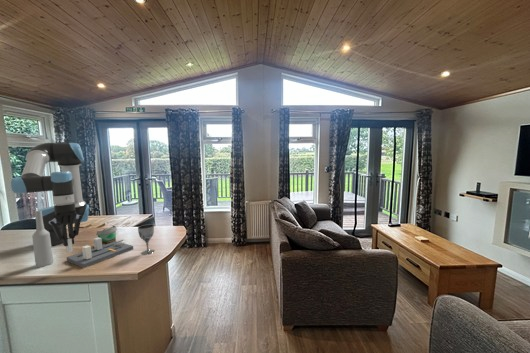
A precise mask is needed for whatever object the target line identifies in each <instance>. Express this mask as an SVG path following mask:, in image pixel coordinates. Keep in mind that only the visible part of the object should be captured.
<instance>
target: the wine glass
mask: <svg viewBox="0 0 530 353" xmlns="http://www.w3.org/2000/svg"><path fill="white" fill-rule="evenodd" d="M154 233H155V225H154V224H152V223H151V224H150V223H148V224H143V225H140V226H138V227H137V234H138V236H139V238H140V239H142V240H143V241H144V242H145V243H146V244H145V245H146V250H144V251H142V252H140V255H142V256H146V255H147V254H148V255H151V253H152V254H154V253H155V252H156V250H155V249H150V248H149V244H150V243H149V242H150V241H151V239H152V238H153V236H154ZM154 251H155V252H154ZM153 252H154V253H153Z"/></svg>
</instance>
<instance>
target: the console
mask: <svg viewBox="0 0 530 353" xmlns="http://www.w3.org/2000/svg"><path fill="white" fill-rule="evenodd" d="M102 247H103V249H100V250H96V249H94V248H91V252H92V258H89V259H84V258H83V252H82V251H81V252H79V253H75V254H73V255H70V256H66V262H68V263H71V264H73V265H76V266H78V267H80V268H83V269H85V268H88V267H90V266H94V265H95V264H99V263H101V262H104V261H107V260H109V259H111V258H115V257H117V256H120V255H123V254H126V253H128V252H130V251H132V250H134V246H133V245H130V244H127V243H125V240H124V239H122V240H121V239H120V240H118V241H115V242H112V243H109V244H106V245H103V246H102Z"/></svg>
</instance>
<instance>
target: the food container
mask: <svg viewBox="0 0 530 353" xmlns="http://www.w3.org/2000/svg"><path fill="white" fill-rule="evenodd" d="M117 230H118V228H117V227H116V225H112V226H111V227H108V228H105V229H103V230H97V231H96V235H97V238H98V237H99V238H102V246H103V245H106V244H109V243H112V242H115V241H116V240H117V232H116V231H117Z"/></svg>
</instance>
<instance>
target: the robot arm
mask: <svg viewBox="0 0 530 353" xmlns="http://www.w3.org/2000/svg"><path fill="white" fill-rule="evenodd" d="M25 159H26V163H25V165H24V168H23V170H22V172H21V176H18V177H13V178H12V179H11V180H10V186H11V187H10V188H11V191H12V193H14V194H30V193H31V194H33V193H42V192H52V199H53V200H52V202H53V204H54V206H52V205H51V206H48V207H43V208H40V209H38V210H37V211H42V218H43V224H44V229H45V230H47V231H48V232H49V233H50V240H51V247H53V246H58V245H60V244H62V243H63V246H64V247H65V248H66V253H69V254H70V253H73V252H74V248H73V245H75V237H76V236H78V235H79V232H80V228H81V223H85V222H88V221H89V220H88V219H89V210H90V204H88V203H86V201H85V200H84V199H83V191H82V183H81V173H80V166H81V165H82V162H84V161H85V158H84V154H83V150H82V146H80V144H79V143H77V142H45V143H40V144H37V145H35V146H33V147H31V148H30V149H29V150H28V151H27V153H26V156H25ZM48 163H57V166H59V167H60V168H61V171H53V172H51V173H50V175H44V172H45V169H46V164H48ZM34 219H35V220H36V216H35V218H34ZM57 244H58V245H57Z"/></svg>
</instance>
